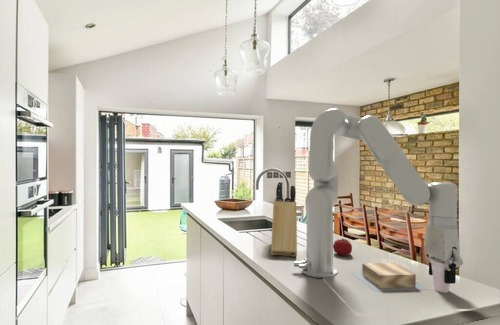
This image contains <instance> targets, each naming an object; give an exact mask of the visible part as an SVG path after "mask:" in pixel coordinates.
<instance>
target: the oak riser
mask: <svg viewBox="0 0 500 325" xmlns="http://www.w3.org/2000/svg"><path fill="white" fill-rule="evenodd" d="M361 266H362V267H361V268H362V269H361V273H362V275H363V276H365V277H366V278H367V279H369V280H370V281H371V282H373V283H374V284H375V285H377V286H378V287H379V288H400V287H416V282H417V281H416V279H417V278H416V276H417V275H416V273H415V272H412V271H411V270H408V269H406V268H405V267H403V266H402V265H399V264H397V263H395V262H370V263H368V262H367V263H363V262H362V265H361Z"/></svg>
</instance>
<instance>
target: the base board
mask: <svg viewBox="0 0 500 325" xmlns="http://www.w3.org/2000/svg"><path fill="white" fill-rule="evenodd" d="M351 274H352V275H354V276H355V277H356V278H357V279H358V280H360V281H361V282H362V283H363V284H364V285H366V286H367V287H369V288H370V289H371V290H372V291H374V292H386V291H387V292H388V291H418V290H419V291H420V290H421V291H422V290H425V291H426V290H428V287H425V286H424V285H422V284H420V283H418V282H417V281H416V287H400V288H379V287H378V286H377V285H375V284H374V283H373V282H371V281H370V280H369V279H367V278H366V277H365V276H363V275H362V272H352V273H351Z"/></svg>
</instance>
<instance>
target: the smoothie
mask: <svg viewBox="0 0 500 325" xmlns="http://www.w3.org/2000/svg"><path fill="white" fill-rule="evenodd" d="M430 263H431V265H432V273H433V275H432V280H433V288H434V291H436V292H439V293H443V294H444V293H449V291H450V287H451V286H450V285H451V284H446V283H445V282H444V276H445V270H447V269H446V266H445V262H444V261H442V260H440V259H437V258H431V259H430ZM449 264H450V265H451V264H452V263H451V262H449Z"/></svg>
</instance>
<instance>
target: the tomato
mask: <svg viewBox="0 0 500 325" xmlns="http://www.w3.org/2000/svg"><path fill="white" fill-rule="evenodd" d="M352 251H353V246H352V243H351V242H350V241H349V239H345V238H341V239H337V240H334V241H333V252H334V253H335V254H336V255H338V256H341V257H342V256H343V257H346V256H349V255H351V253H352Z"/></svg>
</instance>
